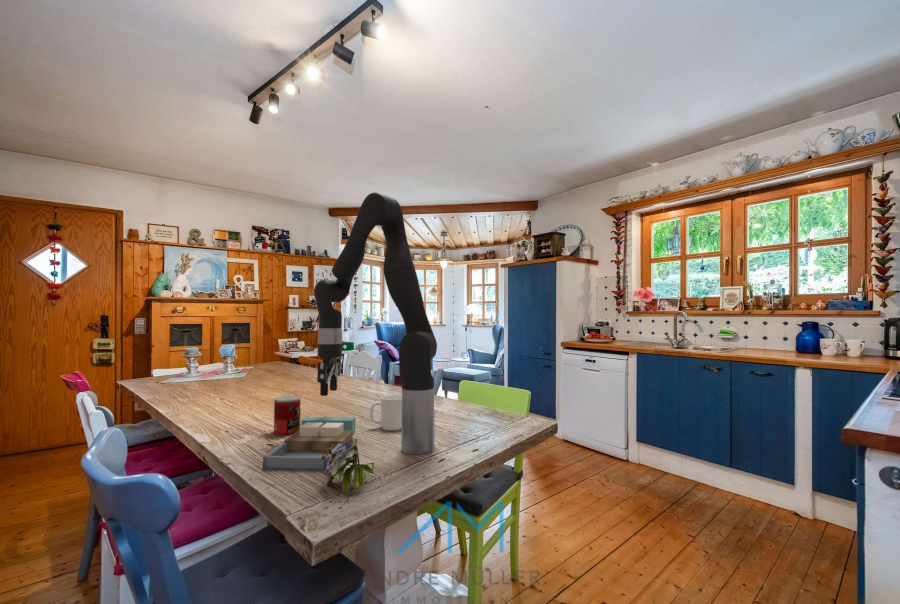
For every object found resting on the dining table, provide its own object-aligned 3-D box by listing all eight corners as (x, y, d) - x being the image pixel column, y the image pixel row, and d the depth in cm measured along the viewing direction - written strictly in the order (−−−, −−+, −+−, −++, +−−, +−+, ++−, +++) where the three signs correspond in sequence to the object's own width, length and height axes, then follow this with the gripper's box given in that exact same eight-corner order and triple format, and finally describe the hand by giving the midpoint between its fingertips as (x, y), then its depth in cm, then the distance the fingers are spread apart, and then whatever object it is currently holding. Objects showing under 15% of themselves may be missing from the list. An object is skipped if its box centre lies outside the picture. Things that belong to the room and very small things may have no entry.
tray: (341, 454, 103) (342, 443, 104) (327, 470, 92) (327, 458, 93) (283, 453, 104) (284, 442, 104) (262, 469, 93) (263, 457, 93)
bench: (352, 442, 113) (352, 430, 114) (341, 454, 103) (342, 441, 104) (299, 441, 114) (299, 429, 114) (283, 453, 104) (284, 440, 104)
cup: (407, 429, 127) (407, 398, 127) (370, 432, 123) (371, 401, 123) (403, 422, 134) (403, 393, 135) (368, 425, 131) (368, 395, 131)
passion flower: (329, 510, 85) (318, 456, 90) (377, 492, 89) (364, 442, 95) (327, 500, 76) (316, 441, 82) (381, 481, 80) (366, 426, 86)
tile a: (343, 431, 113) (343, 422, 113) (337, 436, 108) (337, 427, 108) (326, 431, 113) (326, 422, 113) (320, 436, 108) (320, 427, 108)
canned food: (290, 436, 119) (291, 401, 119) (268, 435, 120) (268, 399, 121) (304, 429, 126) (305, 396, 127) (283, 428, 128) (284, 395, 128)
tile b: (323, 431, 113) (323, 422, 113) (316, 436, 108) (317, 427, 108) (306, 430, 113) (306, 422, 113) (299, 436, 108) (299, 427, 108)
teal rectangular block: (355, 432, 124) (355, 417, 124) (352, 436, 120) (352, 420, 120) (305, 432, 124) (306, 417, 124) (301, 436, 120) (301, 420, 120)
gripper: (334, 344, 116) (333, 397, 115) (348, 340, 130) (347, 389, 129) (309, 343, 116) (308, 397, 115) (326, 340, 130) (325, 388, 129)
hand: (328, 392), depth 122 cm, fingers open, 8 cm apart
